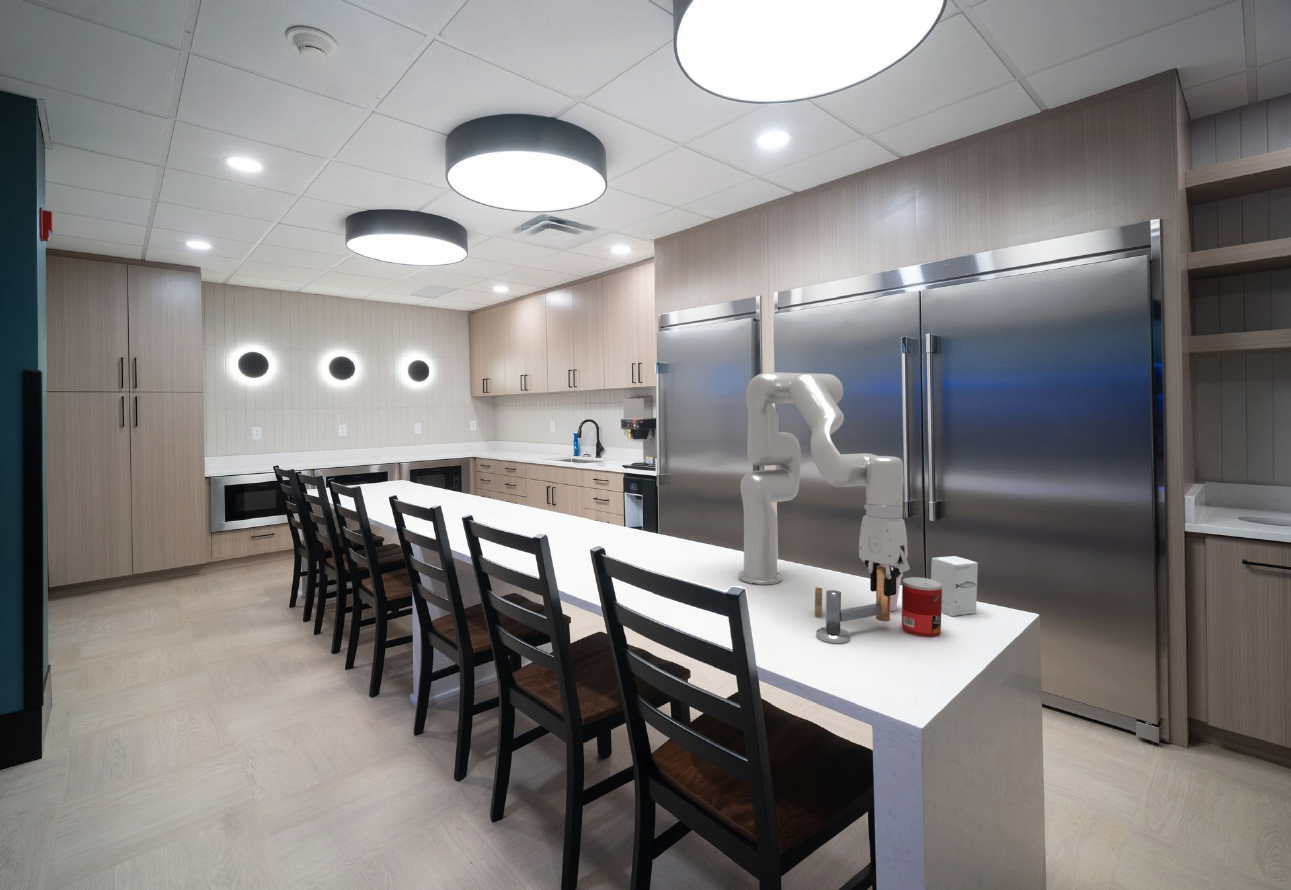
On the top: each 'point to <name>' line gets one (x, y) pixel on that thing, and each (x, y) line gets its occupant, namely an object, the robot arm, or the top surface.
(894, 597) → the smoothie
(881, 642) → the top surface
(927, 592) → the canned food
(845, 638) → the pivot base
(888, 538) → the robot arm
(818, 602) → the brown wooden block
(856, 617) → the double handled crank lever
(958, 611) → the supplement box
